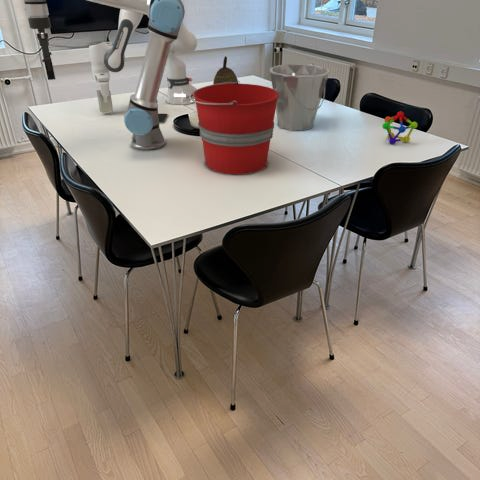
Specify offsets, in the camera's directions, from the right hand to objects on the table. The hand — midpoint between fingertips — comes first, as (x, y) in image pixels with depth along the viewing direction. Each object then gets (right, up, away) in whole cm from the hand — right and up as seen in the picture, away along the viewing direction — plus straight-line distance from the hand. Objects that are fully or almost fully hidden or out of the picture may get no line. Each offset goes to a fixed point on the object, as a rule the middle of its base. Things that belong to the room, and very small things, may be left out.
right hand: (105, 100), depth 245 cm
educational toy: (+149, -31, -34) cm, 156 cm away
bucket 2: (+104, -17, -12) cm, 106 cm away
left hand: (-1, -12, -68) cm, 69 cm away
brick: (0, -5, +3) cm, 6 cm away
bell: (+66, +13, +36) cm, 77 cm away
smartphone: (+31, -11, -4) cm, 33 cm away
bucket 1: (+73, -44, -56) cm, 102 cm away
